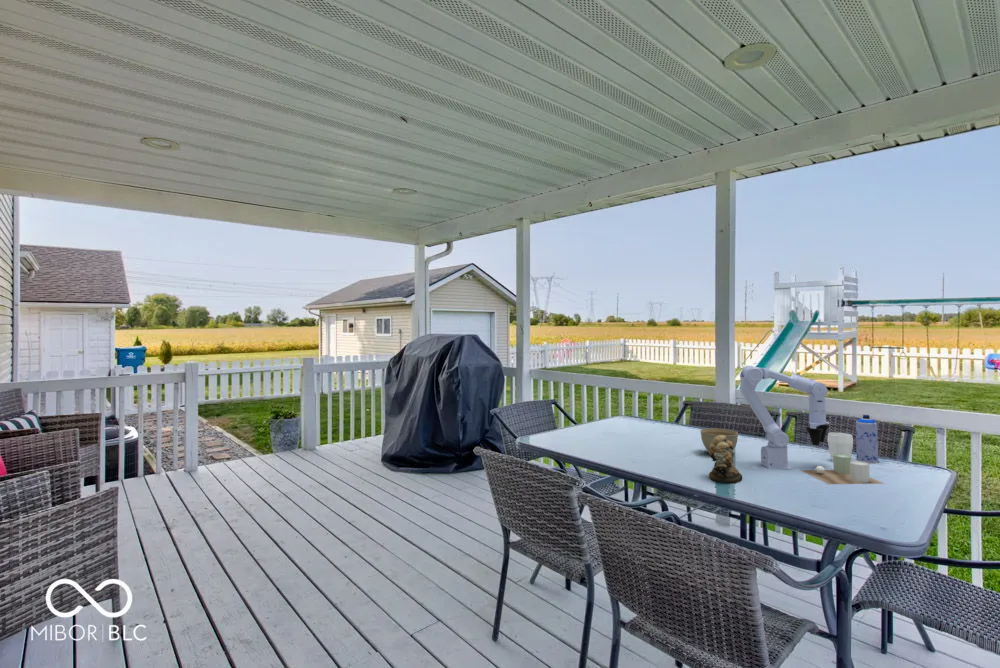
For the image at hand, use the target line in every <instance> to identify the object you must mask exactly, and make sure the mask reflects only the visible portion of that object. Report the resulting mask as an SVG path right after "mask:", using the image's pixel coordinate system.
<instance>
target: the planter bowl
mask: <svg viewBox="0 0 1000 668" xmlns="http://www.w3.org/2000/svg"><path fill="white" fill-rule="evenodd" d="M699 432H700V438H701V441H702V444H703V446H704V448H705V449H706V451H707V454H708V453H709V454H708V455H710V449H709V446H710V444H711V443H712V440H713V439H714V438H715V437H716V436H719V435H724V436H726V437H727V441H731V442H732V443H733V446H734V449H735V448H736V446H737V444H738V437H739V432H738V431H736V430H732V429H728V428H727V429H726V428H713V427H711V428H703V429H700V430H699Z"/></svg>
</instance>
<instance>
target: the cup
mask: <svg viewBox="0 0 1000 668" xmlns="http://www.w3.org/2000/svg"><path fill="white" fill-rule="evenodd" d="M853 444H854V439H853V435H852V434H851V433H845V432H835V431H834V432H828V433H827V445H828V450H829V454H830V460H831V461H832V462H833V456H834V454H846V455H850V456H851V457H852V453H853V447H854V445H853Z"/></svg>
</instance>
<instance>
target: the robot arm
mask: <svg viewBox="0 0 1000 668" xmlns="http://www.w3.org/2000/svg"><path fill="white" fill-rule="evenodd" d="M739 377H740V380H739V381H740V385H739V386H740V388H739V389H740V392H741V394H742V395H743V397H744V399H745V400H746V402H747V403H748V405H749V406H750V408H751V410H752V411H753V413H754V414H755V416H756V417H757V419H758V421H759V422H760V424H761V425H762V427H763V431H764V432H765V438H766V440H767V441H768V442H767V445H763V446H761V448H760V465H762V466H764V467H765V468H768V469H770V470H773V469H774V470H779V469H783V470H784V469H785V470H786V469H793V467H792V466H790V465H789V463H788V462H789V459H788V457H789V456H788V454H789V453H788V444H789V442H790V437H789V435H788V434H787V433H785V432H784V431H783V430H782V428H780V427H779V426H778V424H777V423H776V422H775V420H774V419H773V417H772V416H771V414H770V413H769V411H768V409H767V408H766V406H765V405H764V403H763V401H762V400H761V398H760V397H759V395H758V394H757V392H756V388H757V386H758V384H759V383H760V382H761V381H762V380H768V379H772V380H775V381H779V382H782V383H786V384H787V385H788V386H789V388H791V389H793V390H797V391H800V392H803V393H806V394H808V415H809V419H808V423H809V426H806V427H805V428H806V431H807V432H808V434H809V438H810V440H811V444H812V445H813V446H820V443H824V442H825V437H826V436H827V435H826V434H827V431H828V429H829V427H830V421H827V419H826V418H827V416H826V415H827V413H826V395H827V394H828V391H829V390H828V388H827V386H826V384H824V383H822V382H818V381H816V380H815V379H813V378H807V377H803V375H802V374H794V375H787V374H784V373H780V372H778V371H776V370H772V369H770V368H765V367H760V366H759V367H757V366H753V365H746V366H744V367H743V368H742V369H741V371H740V373H739Z"/></svg>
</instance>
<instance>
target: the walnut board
mask: <svg viewBox="0 0 1000 668" xmlns="http://www.w3.org/2000/svg"><path fill="white" fill-rule="evenodd" d="M800 471H801V473H802V472H803V473H804V474H806V475H808V476H810V477H813V478H815V479H817V480H819V481H821V482H823V483H825V484H827V485H873V484H874V485H876V484H880V485H881V484H883V485H885V482H882V481H879V480H877V479H874V478H873V477H870V482H869V483H861V482H855V481H853V480H850V474H841V473H837V472H834V469H825V472H824V473H823V474H819V473H817V472H816V469H813V470H812V469H808V470H807V469H805V470H804V469H803V470H801V469H800Z"/></svg>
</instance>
